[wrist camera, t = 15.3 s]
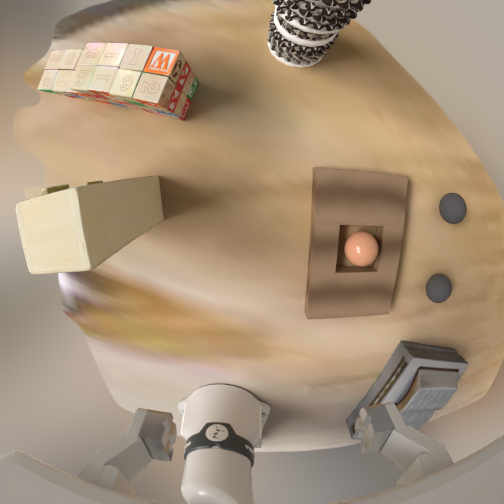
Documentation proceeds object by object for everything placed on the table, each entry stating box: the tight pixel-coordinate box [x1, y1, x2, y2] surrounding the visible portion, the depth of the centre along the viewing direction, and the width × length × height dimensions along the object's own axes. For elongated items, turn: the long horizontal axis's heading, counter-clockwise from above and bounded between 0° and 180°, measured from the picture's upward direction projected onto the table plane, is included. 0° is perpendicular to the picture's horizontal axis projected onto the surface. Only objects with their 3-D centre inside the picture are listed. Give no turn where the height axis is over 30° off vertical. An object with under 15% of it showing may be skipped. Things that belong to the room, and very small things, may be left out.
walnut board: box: [305, 168, 408, 319], centre depth 39 cm, size 22×14×2 cm, turn 0°
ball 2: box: [439, 193, 466, 224], centre depth 36 cm, size 5×5×5 cm
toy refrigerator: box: [16, 176, 164, 274], centre depth 28 cm, size 8×7×21 cm
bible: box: [346, 341, 468, 439], centre depth 46 cm, size 23×27×10 cm
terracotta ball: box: [345, 231, 378, 267], centre depth 38 cm, size 5×5×5 cm
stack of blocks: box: [38, 43, 199, 121], centre depth 27 cm, size 21×6×12 cm, turn 70°
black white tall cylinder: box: [268, 0, 371, 68], centre depth 19 cm, size 9×9×25 cm
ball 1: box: [426, 274, 452, 303], centre depth 40 cm, size 5×5×5 cm
